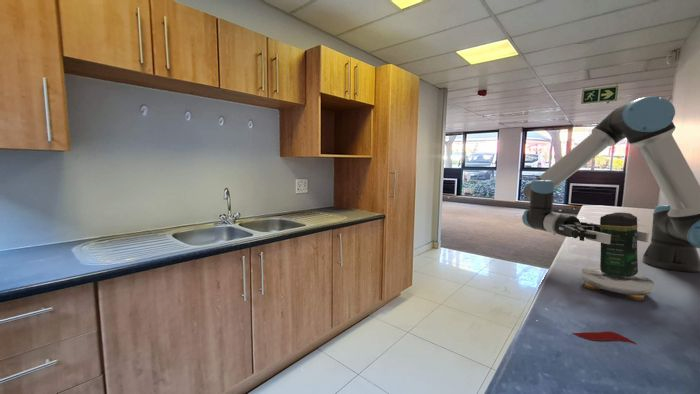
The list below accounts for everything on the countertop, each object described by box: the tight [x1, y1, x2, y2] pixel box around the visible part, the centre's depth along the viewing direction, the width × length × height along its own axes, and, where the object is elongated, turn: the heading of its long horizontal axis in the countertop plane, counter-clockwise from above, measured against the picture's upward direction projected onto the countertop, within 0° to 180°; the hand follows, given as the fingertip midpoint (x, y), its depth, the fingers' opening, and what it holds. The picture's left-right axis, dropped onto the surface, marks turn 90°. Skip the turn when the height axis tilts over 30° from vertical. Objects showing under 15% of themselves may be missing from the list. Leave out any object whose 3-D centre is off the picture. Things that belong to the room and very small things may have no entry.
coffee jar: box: [599, 212, 639, 277], centre depth 88 cm, size 10×8×19 cm
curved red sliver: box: [571, 330, 638, 345], centre depth 63 cm, size 12×5×2 cm, turn 61°
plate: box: [580, 266, 655, 302], centre depth 88 cm, size 16×16×4 cm
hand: (628, 238), depth 84 cm, fingers open, 13 cm apart
